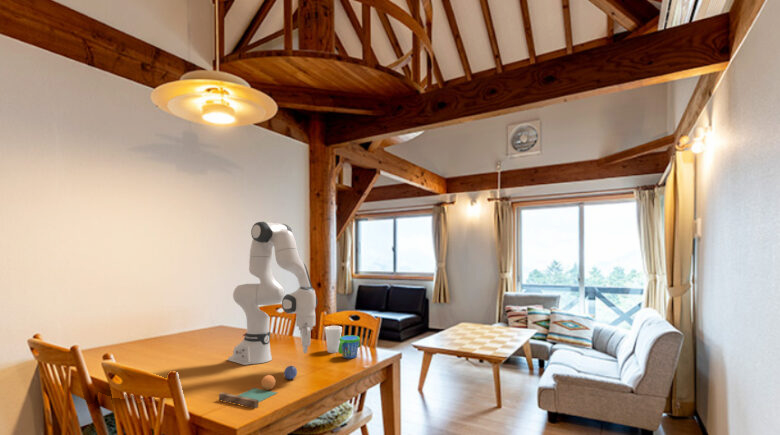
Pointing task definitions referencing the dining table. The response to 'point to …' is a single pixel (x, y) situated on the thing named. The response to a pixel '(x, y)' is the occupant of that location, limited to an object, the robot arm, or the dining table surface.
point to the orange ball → (268, 382)
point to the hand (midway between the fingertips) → (305, 352)
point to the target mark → (257, 394)
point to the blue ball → (290, 372)
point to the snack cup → (349, 346)
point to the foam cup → (333, 338)
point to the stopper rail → (238, 400)
